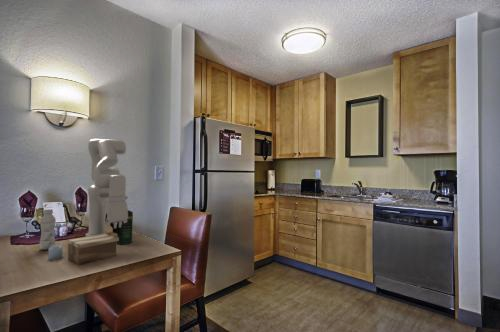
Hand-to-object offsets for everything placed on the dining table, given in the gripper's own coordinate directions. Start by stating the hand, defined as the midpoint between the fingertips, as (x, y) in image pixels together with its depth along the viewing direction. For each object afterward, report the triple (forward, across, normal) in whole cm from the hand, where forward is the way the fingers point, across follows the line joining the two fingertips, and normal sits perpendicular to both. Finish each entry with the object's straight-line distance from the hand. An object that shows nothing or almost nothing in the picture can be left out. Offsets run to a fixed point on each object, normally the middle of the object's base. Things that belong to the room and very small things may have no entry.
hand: (116, 235), depth 132 cm
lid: (+1, +10, 0) cm, 10 cm away
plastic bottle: (+8, +20, -30) cm, 37 cm away
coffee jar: (+8, -11, -13) cm, 19 cm away
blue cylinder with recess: (+8, +22, -12) cm, 26 cm away
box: (+8, +11, 0) cm, 14 cm away
